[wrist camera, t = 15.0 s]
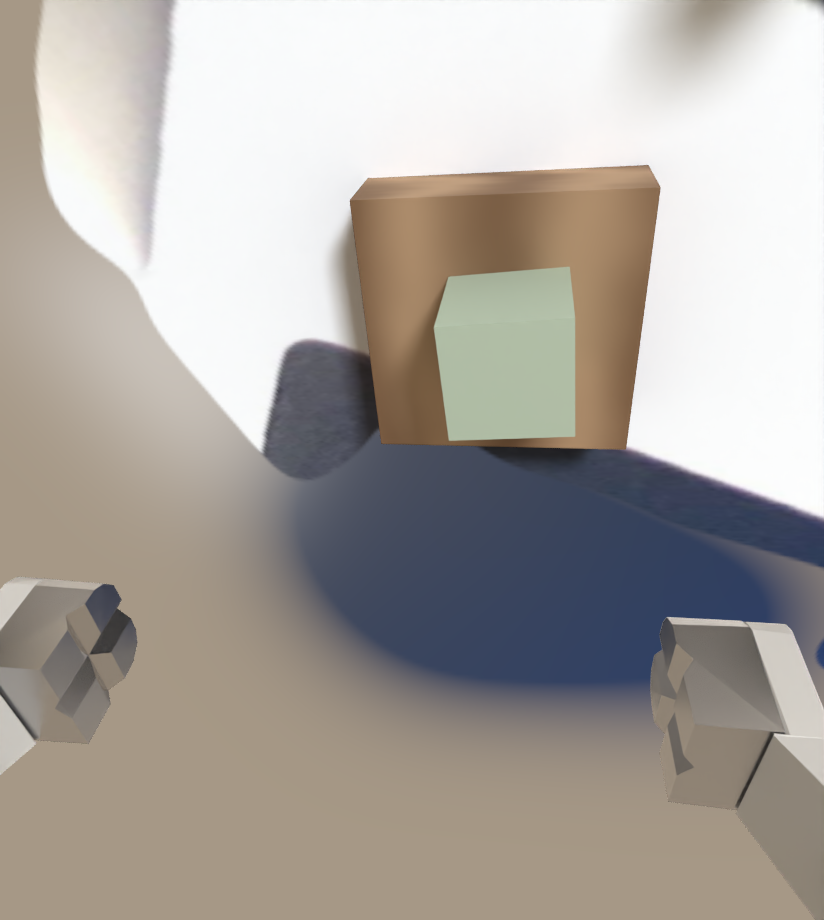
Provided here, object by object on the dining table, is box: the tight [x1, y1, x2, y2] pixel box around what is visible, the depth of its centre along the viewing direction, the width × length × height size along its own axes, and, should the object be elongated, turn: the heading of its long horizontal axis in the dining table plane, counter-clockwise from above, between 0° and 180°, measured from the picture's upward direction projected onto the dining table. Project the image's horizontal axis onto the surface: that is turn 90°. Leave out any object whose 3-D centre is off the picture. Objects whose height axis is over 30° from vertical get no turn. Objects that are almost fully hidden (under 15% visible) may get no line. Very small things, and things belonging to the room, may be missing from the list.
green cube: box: [434, 267, 575, 441], centre depth 27 cm, size 5×5×5 cm
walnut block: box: [350, 165, 660, 449], centre depth 31 cm, size 12×12×4 cm
